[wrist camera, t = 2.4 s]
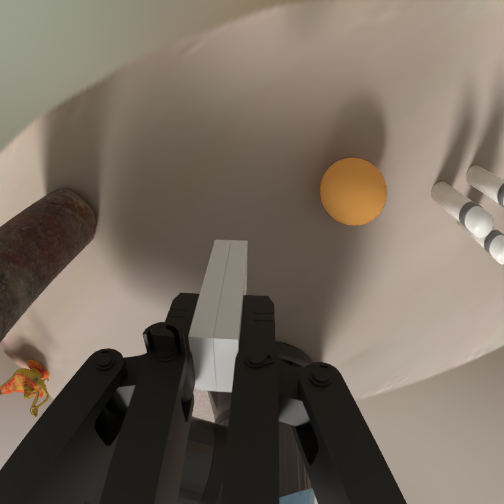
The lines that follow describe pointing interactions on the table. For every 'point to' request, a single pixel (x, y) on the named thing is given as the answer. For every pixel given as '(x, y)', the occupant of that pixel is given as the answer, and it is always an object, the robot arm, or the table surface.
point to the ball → (353, 191)
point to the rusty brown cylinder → (40, 249)
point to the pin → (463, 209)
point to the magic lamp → (28, 383)
